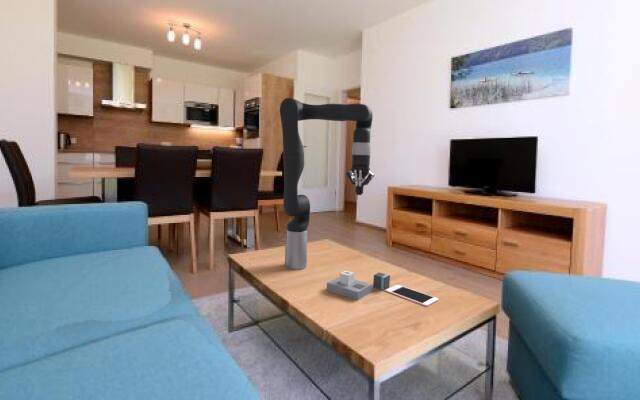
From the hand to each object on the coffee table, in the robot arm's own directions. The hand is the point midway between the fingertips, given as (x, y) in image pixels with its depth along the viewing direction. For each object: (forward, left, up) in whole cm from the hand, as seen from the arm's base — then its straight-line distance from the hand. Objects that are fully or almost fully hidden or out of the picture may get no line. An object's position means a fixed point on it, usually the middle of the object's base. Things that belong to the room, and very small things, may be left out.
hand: (359, 194), depth 146 cm
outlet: (+8, -18, -35) cm, 40 cm away
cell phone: (+28, -6, -36) cm, 46 cm away
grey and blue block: (+16, -6, -35) cm, 39 cm away
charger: (+7, -18, -35) cm, 40 cm away
